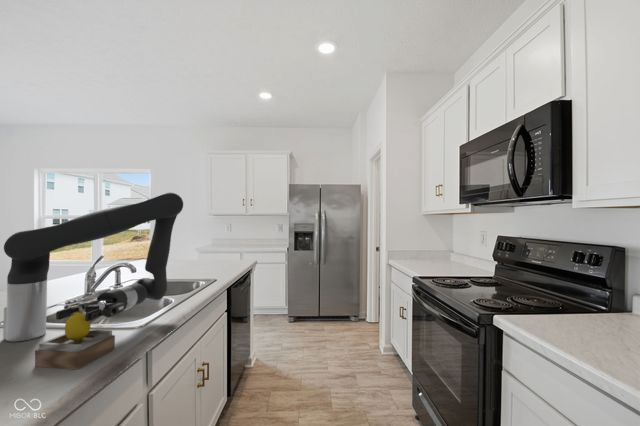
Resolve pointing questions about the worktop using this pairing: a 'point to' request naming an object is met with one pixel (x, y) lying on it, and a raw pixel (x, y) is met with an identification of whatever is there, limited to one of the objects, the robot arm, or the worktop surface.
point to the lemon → (77, 327)
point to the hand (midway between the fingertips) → (71, 316)
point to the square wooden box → (74, 350)
